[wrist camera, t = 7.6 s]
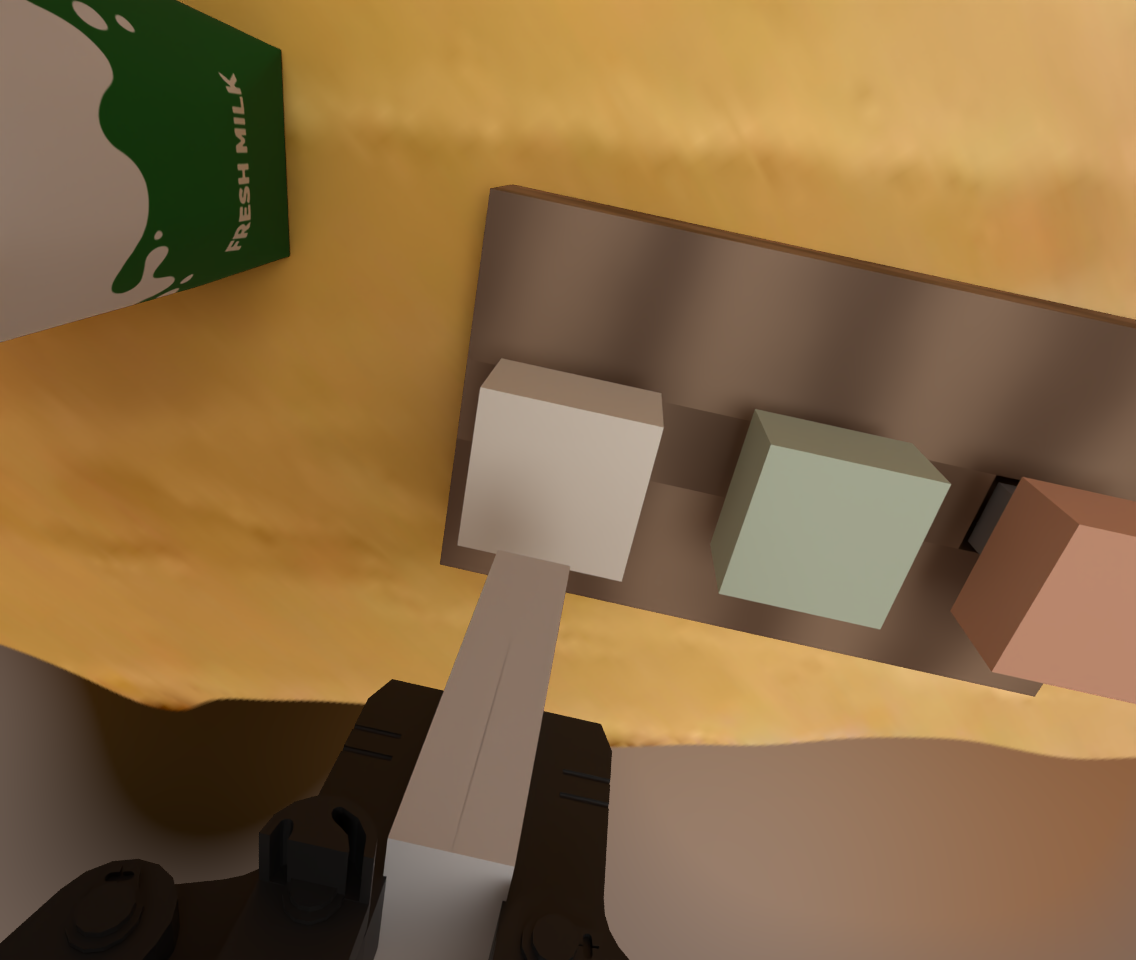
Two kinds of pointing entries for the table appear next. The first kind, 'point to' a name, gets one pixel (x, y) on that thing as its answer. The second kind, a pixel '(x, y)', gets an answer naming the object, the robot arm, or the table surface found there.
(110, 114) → the milk carton
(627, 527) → the cream key
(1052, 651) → the terracotta key
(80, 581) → the table surface
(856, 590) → the sage key
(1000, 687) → the key panel
